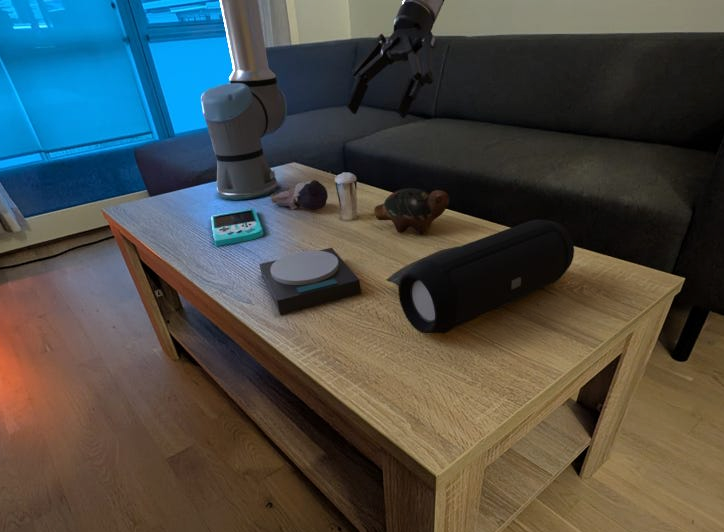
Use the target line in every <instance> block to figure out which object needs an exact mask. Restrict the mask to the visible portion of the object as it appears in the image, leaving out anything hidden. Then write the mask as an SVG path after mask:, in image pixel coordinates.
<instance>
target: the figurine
mask: <svg viewBox="0 0 724 532" xmlns="http://www.w3.org/2000/svg"><path fill="white" fill-rule="evenodd" d="M270 196H271V199H270V200H271V202H272V203H273V204H276V205H278V206H280V207H290V210H296V208H299V207H301V208H302V209H303V210H305V211H309V212H310V211H312V212H315V211H319V210H321V209H323V208H325V206H326V204H327V200H328V198H329V196H328V191H327V188H326V187H325V186H324V185H323V184H322V183H321V182H320V181H319V180H316V179H313V180H311V181H303V182H298V183H297V184H296V185H295V188H294V187H293V188H292V187H291V188H289V189H288V190H285V191H281V192H279V193H277V194H275V193H274V192H272V193H270Z"/></svg>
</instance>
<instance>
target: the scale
mask: <svg viewBox="0 0 724 532" xmlns="http://www.w3.org/2000/svg"><path fill="white" fill-rule="evenodd" d="M258 266H259V270H260V274H261V278H262V279H263V283H264V284H265V286H266V288H267V290H268V292H269V294H270V297H271V298H272V300H273V303H274V305H275V307H276V309H277V311H278V313H279V316H282V315H287V314H290V313H294V312H297V311H302V310H306V309H309V308H314V307H317V306H321V305H324V304H329V303H332V302H337V301H341V300H343V299H348V298H351V297H355V296H358V295H362V289H361V280H360V278H359V277H358V276H357V274H356V273H355V272H354V271H353V270H352V269H351V268H350V267H349V266H348V265H347V263H346V262H345V261H344V260H343V259H342V257H340V255H339V254H338V252H337V251H336V250H335V249H334V248H333V247H328V248H323V249H320V250H317V249H315V250H313V249H312V250H301V251H296V252H292V253H289V254H286V255H283V256H282V257H280V258H278V259H275V260H269V261H266V262H262V263H259V264H258Z"/></svg>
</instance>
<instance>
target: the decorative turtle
mask: <svg viewBox="0 0 724 532" xmlns="http://www.w3.org/2000/svg"><path fill="white" fill-rule="evenodd" d="M449 203H450V198H449V195H448V194H447V193H446V192H445V191H443V190H440V189H436V190H432V191H431V192H430V193H428V192H427V191H426V190H424V189H420V188H411V187H410V188H402V189H398V190H396V191H394V192H393V193H391V194H390V195H389V196H388V197H387V198H386V199H385V200H384V202H383V203H382V204H378V205H376V206H375V207H374V209H373V212H374V216H375V218H376V220H378V221H391V222H392V223H393V225H394V228H395V230H396V232H397V233H399V234H403V233H405V232H407V230H409V229H410V228H412V229H413V230H414V231H415V232H416V234H418V235H419V236H424V235H425V234H426V233H427V232H428V229H429V227H430V225H432V223H433V221H435V220H436V219H438V218H439V217H441V215H443V214H444V212H445V211H446V209H447V207H448V206H449V205H450V204H449Z"/></svg>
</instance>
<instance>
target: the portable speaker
mask: <svg viewBox="0 0 724 532" xmlns="http://www.w3.org/2000/svg"><path fill="white" fill-rule="evenodd" d="M456 247H457V248H454V249H452V250H449V251H446V252H443V253H441V254H438V255H435V256H433V257H430V258H427V259H424V260H422V261H419V262H417V263H416V264H415V265H414V266H413V267H412V268H410V269H409V270H408V271H407V272H406V273H405V274H404V275H403V276H402V278H401V280H400V283H399V286H398V299H399V304H400V306H401V309H402V312H403V314H404V316H405V317H406V319H407V321H408V323H410V325H411V326H412V327H413V328H414V329H415V330H417V331H418V332H419V333H422V334H426V335H427V334H429V335H430V334H446V333H449V332H450V331H452V330H454V329H456V328H459V327H460V326H463V325H465V324H467V323H469V322H471V321H474V320H476V319H478V318H481V317H482V316H484V315H486V314H489V313H491V312H494V311H496V310H497V309H500V308H502V307H504V306H506V305H508V304H511V303H514V302H515V301H517V300H519V299H522V298H524V297H526V296H528V295H530V294H532V293H535V292H536V291H539V290H540V289H543V288H546V287H548V286H550V285H552V284H555V283H557V282H558V281H559V280H560V279H561V278H562V277H563V276H564V275H565V274H566V272H567V271H568V269H569V268H570V266H571V265H572V263H573V260H574V258H575V257H574V256H575V245H574V241H573V238H572V235H571V234H570V233H569V231H568V230H567V229H566V228H565V226H563V225H562V224H560V223H559V222H556V221H551V220H547V219H541V218H538V219H532V220H529V221H526V222H523V223H520V224H517V225H515V226H512V227H509V228H507V229H504V230H501V231H498V232H496V233H493V234H489V235H488V236H485V237H482V238H479V239H476V240H473V241H470V242H469V243H466V244H463V245H460V246H456Z"/></svg>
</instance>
